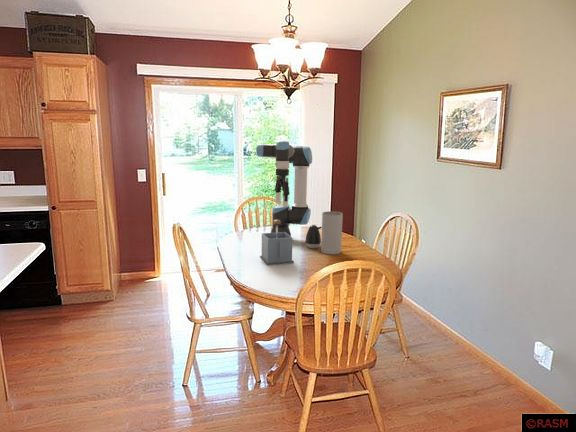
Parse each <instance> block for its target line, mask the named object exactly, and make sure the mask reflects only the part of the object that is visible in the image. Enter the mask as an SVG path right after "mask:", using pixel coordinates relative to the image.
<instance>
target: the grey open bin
mask: <svg viewBox="0 0 576 432" xmlns="http://www.w3.org/2000/svg"><path fill="white" fill-rule="evenodd" d="M259 258H260V259H261V260H262V261H263V263H265V265H267V266H273V265H285V264H294V260H293V237H292V235H291V236H290V235H288V234H287V233H286V232H278V238H276V233H271V232H263V233H261V255H259Z"/></svg>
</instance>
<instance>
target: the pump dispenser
mask: <svg viewBox="0 0 576 432" xmlns="http://www.w3.org/2000/svg"><path fill="white" fill-rule="evenodd" d="M320 229H321V230H322V226H317V225H316V224H312V225H310V226H309V227H308V230H307V232H306V235H305V244H306V247H308V248H309V249H317V248H320V247H321V242H322V235H321V232H320Z"/></svg>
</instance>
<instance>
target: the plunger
mask: <svg viewBox="0 0 576 432" xmlns="http://www.w3.org/2000/svg"><path fill="white" fill-rule="evenodd" d="M273 224H274V225H276V238H278V225H280V220H273V219H272V225H273Z"/></svg>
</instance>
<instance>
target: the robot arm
mask: <svg viewBox="0 0 576 432" xmlns="http://www.w3.org/2000/svg"><path fill="white" fill-rule="evenodd" d="M255 151H256V156H257V157H260V158H270V159H275V162H274V165H275V168H276V169H275V175H276V181H275V186H274V191H275V204H280V205H274V207H273V208H272V213H271V214H272V221H273V220H280V225H278V232H286V233H287V234H288V235H290V236H291V237H292V233H291V230H290V225H300V226H302V225H305V226H306V225H308V224H309V222H310V217H311V212H312V211H311V208H310V207H309V205H308V203H307V193H308V192H307V190H308V189H307V188H308V187H307V186H308V185H307V184H308V169H309V168H310V165H311V164H313V153H312V149H311V147H309V146H304V145H303V146H300V145H299V146H295V145H292V144H290V142H289V141H288V140H286V141H283V140H278V141H276V143H275V144H267V143H264V144H263V143H262V144H261V143H259V144H257V146H256V149H255ZM290 164H292V167H293V168H294V188H293V204H291V206H290V205H289V196H290V187H289V178H288V177H287V176H289V174H290V169H289V168H290ZM281 190H282V191H281ZM282 193H283V194H282ZM281 194H282V195H281ZM281 196H282V197H281ZM281 198H282V201H281ZM281 203H282V204H281ZM271 227H272V228H271V230H270V233H276V225H274V224H273V223H272V226H271Z"/></svg>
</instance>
